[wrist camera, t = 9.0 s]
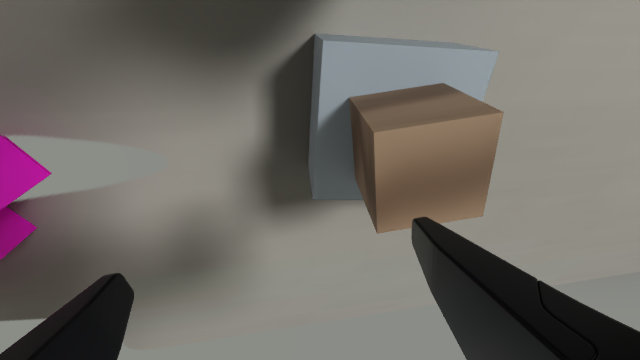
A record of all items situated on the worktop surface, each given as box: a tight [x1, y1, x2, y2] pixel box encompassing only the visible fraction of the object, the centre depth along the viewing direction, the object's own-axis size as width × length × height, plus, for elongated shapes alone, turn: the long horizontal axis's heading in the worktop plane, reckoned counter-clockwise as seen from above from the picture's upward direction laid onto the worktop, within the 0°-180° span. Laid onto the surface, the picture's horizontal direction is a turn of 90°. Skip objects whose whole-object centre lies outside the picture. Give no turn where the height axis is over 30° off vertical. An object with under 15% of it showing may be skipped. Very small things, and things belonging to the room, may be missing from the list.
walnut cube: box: [349, 83, 504, 233], centre depth 15 cm, size 5×5×5 cm
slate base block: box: [308, 34, 499, 200], centre depth 19 cm, size 9×9×5 cm
